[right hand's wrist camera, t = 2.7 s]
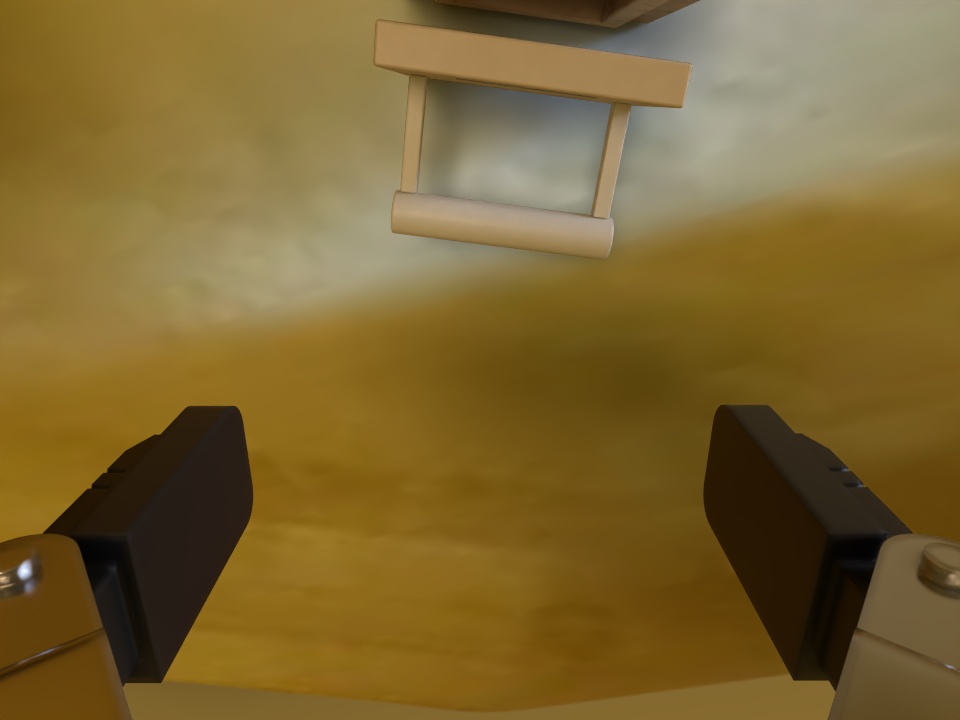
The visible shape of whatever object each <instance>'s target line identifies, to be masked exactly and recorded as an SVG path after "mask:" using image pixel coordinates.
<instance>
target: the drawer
mask: <svg viewBox="0 0 960 720" xmlns="http://www.w3.org/2000/svg"><path fill="white" fill-rule="evenodd" d="M434 1H435V2H437V3H444V4H451V5H458V6H465V7H472V8H479V9H486V10H493V11H500V12H507V13H514V14H521V15H528V16H535V17H542V18H549V19H556V20H563V21H570V22H577V23H584V24H591V25H598V26H605V27H612V28H617V27H619V26H620V25H623V24H624V23H626V22H628V21H630V20H632V19H634V18H636V17H638V16H640V15H642V14H644V13H646V12H648V11H650V10H652V9H654V8H656V7H657V6H659V5H661V4H663V3H665V2H667V1H669V0H434ZM373 63H374V65H375V66H377V67H381V68H384V69H387V70H391V71H394V72H398V73H401V74H404V75H408V76H409V88H408V100H407V113H406V125H405V138H404V150H403V163H402V175H401V188H400V190H401V191H400V190H397V191H396V192H395V194H394V198H393V205H392V214H391V230H392V232H393V233H397V234H405V235H413V236H421V237H429V238H437V239H445V240H453V241H461V242H468V243H476V244H484V245H492V246H500V247H508V248H516V249H524V250H532V251H539V252H547V253H555V254H563V255H571V256H579V257H587V258H595V259H603V260H604V259H606V258H607V257H608V255H609V252H610V249H611V246H612V241H613V234H614V223H613V219H612V218H609V215H610V210H611V205H612V200H613V195H614V190H615V185H616V180H617V175H618V170H619V165H620V160H621V155H622V149H623V144H624V139H625V134H626V129H627V124H628V119H629V114H630V109H631V106H650V107H668V108H682V107H683V105H684V102H685V97H686V93H687V89H688V84H689V80H690V75H691V71H692V64H690V63H685V62H677V61H670V60H663V59H656V58H649V57H642V56H635V55H628V54H621V53H614V52H607V51H600V50H593V49H586V48H578V47H571V46H564V45H557V44H550V43H543V42H536V41H529V40H522V39H515V38H508V37H501V36H494V35H486V34H479V33H472V32H465V31H458V30H451V29H444V28H437V27H430V26H423V25H416V24H409V23H402V22H394V21H387V20H380V19H379V20H377V21H376V27H375V43H374V60H373ZM428 78H429V79H437V80H444V81H451V82H458V83H466V84H473V85H480V86H487V87H495V88H502V89H509V90H517V91H524V92H531V93H538V94H546V95H553V96H560V97H567V98H575V99H582V100H589V101H596V102H604V103H611V104H612V105H611V110H610V115H609V121H608V126H607V131H606V137H605V142H604V147H603V153H602V158H601V163H600V169H599V174H598V179H597V185H596V190H595V195H594V200H593V206H592V211H591V214H592V215H585V214H577V213H569V212H562V211H554V210H546V209H539V208H531V207H523V206H515V205H508V204H500V203H492V202H485V201H477V200H469V199H461V198H454V197H446V196H438V195H431V194H423V193H416V192H417V191H418V182H419V170H420V159H421V148H422V137H423V126H424V115H425V103H426V92H427V81H428Z"/></svg>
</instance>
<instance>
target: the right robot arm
mask: <svg viewBox="0 0 960 720" xmlns="http://www.w3.org/2000/svg"><path fill="white" fill-rule="evenodd" d="M252 505H253V486H252V479H251V472H250V466H249V459H248V452H247V446H246V439H245V432H244V426H243V420H242V416H241V413H240V411H239V409H238V408H237V407H236V406H188V407H187V408H185V409H184V410H183V411H182V412H181V413H180V415H179V416H178V417H177V418H176V419H175V420H174V421H173V422H172V423H171V424H170V425H169V426H168V427H167V428H166V429H165V430H164V431H163V432H162V433H161V435H153V436H151V437H150V438H148V439H146V440H144V441H142V442H140V443H139V444H137V445H135V446H133V447H131V448H130V449H128V450H126V451H125V452H124V453H123V454H122V455H121V456H120V457H119V458H118V459H117V460H116V461H115V462H114V463H113V464H112V465H111V466H110V467H109V468H108V469H107V473H103V474H102V475H101V476H100V477H99V478H98V479H97V480H96V481H95V482H94V483H93V484H92V488H91V489H87V490H86V491H85V492H84V493H83V494H82V495H81V496H80V497H79V498H78V499H77V500H76V501H75V502H74V503H73V504H72V505H71V506H70V507H69V508H68V509H67V510H66V511H65V512H64V513H63V514H62V515H61V516H60V517H59V518H58V519H57V520H56V521H55V522H54V523H53V524H52V525H51V526H50V527H49V528H48V529H47V530H46V531H45V532H44V533H43V534H35V535H28V536H23V537H18V538H15V539H11V540H8V541H5V542H2V543H0V720H132V716H131V713H130V710H129V706H128V703H127V700H126V697H125V693H124V690H123V686H124V685H125V683H161V682H162V680H163V679H164V677H165V675H166V673H167V671H168V669H169V668H170V666H171V664H172V662H173V660H174V658H175V657H176V655H177V653H178V651H179V649H180V647H181V646H182V644H183V642H184V640H185V638H186V636H187V635H188V633H189V631H190V629H191V627H192V625H193V624H194V622H195V620H196V618H197V616H198V614H199V613H200V611H201V609H202V607H203V605H204V603H205V602H206V600H207V598H208V596H209V594H210V592H211V591H212V589H213V587H214V585H215V583H216V581H217V580H218V578H219V576H220V574H221V572H222V570H223V569H224V567H225V565H226V563H227V561H228V559H229V558H230V556H231V554H232V552H233V550H234V548H235V547H236V545H237V543H238V541H239V539H240V537H241V536H242V534H243V532H244V530H245V528H246V526H247V524H248V522H249V519H250V516H251V511H252ZM704 507H705V512H706V516H707V519H708V522H709V524H710V526H711V528H712V530H713V532H714V534H715V535H716V537H717V539H718V541H719V543H720V545H721V547H722V548H723V550H724V552H725V554H726V556H727V558H728V560H729V561H730V563H731V565H732V567H733V569H734V571H735V573H736V574H737V576H738V578H739V580H740V582H741V584H742V586H743V587H744V589H745V591H746V593H747V595H748V597H749V598H750V600H751V602H752V604H753V606H754V608H755V610H756V611H757V613H758V615H759V617H760V619H761V621H762V623H763V624H764V626H765V628H766V630H767V632H768V634H769V636H770V637H771V639H772V641H773V643H774V645H775V647H776V649H777V650H778V652H779V654H780V656H781V658H782V660H783V662H784V663H785V665H786V667H787V669H788V671H789V673H790V675H791V676H792V678H793V680H829V681H830V683H831V685H832V686H833V688H834V690H835V691H836V693H835V697H834V700H833V703H832V706H831V710H830V713H829V716H828V720H960V543H958V542H955V541H952V540H949V539H945V538H942V537H937V536H932V535H925V534H914V533H913V532H912V531H911V530H910V529H909V528H908V527H907V526H906V525H905V524H904V523H903V522H902V521H901V520H900V519H899V518H898V517H897V516H896V515H895V514H894V513H893V512H892V511H891V510H890V509H889V508H888V507H887V506H886V505H885V504H884V503H883V502H882V501H881V500H880V499H879V498H878V497H877V496H876V495H875V494H874V493H873V492H872V491H871V490H870V489H869V488H868V487H864V486H863V482H862V481H861V480H860V479H859V478H858V477H857V476H856V475H855V474H854V473H853V472H852V471H848V467H847V466H846V465H845V464H844V463H843V462H842V461H841V460H840V459H839V458H838V457H837V456H836V455H835V454H834V453H833V452H832V451H831V450H830V449H828V448H826V447H825V446H823V445H821V444H819V443H817V442H816V441H814V440H812V439H810V438H808V437H807V436H805V435H803V434H795V433H794V432H793V431H792V430H791V428H790V427H789V426H788V425H787V424H786V423H785V422H784V421H783V420H782V419H781V418H780V417H779V416H778V415H777V414H776V413H775V411H774V410H773V409H772V408H771V407H769V406H768V405H721V406H719V407H718V409H717V411H716V413H715V416H714V421H713V427H712V434H711V441H710V448H709V454H708V461H707V468H706V475H705V481H704Z"/></svg>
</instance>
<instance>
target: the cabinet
mask: <svg viewBox="0 0 960 720" xmlns="http://www.w3.org/2000/svg"><path fill="white" fill-rule="evenodd" d="M697 1H700V0H669V1H667V2H665V3H663V4H661V5H659V6H657V7H656V8H654V9H652V10H650V11H648V12H646V13H644V14H642V15H640V16H638V17H636V18H634V19H632V20H630V21H634V22H641V23H650V22H653V21H654V20H657V19H659V18H661V17H663V16H666V15H668V14H670V13H672V12H675V11H677V10H679V9H682V8H684V7H686V6H688V5H691V4H693V3H695V2H697Z"/></svg>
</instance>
